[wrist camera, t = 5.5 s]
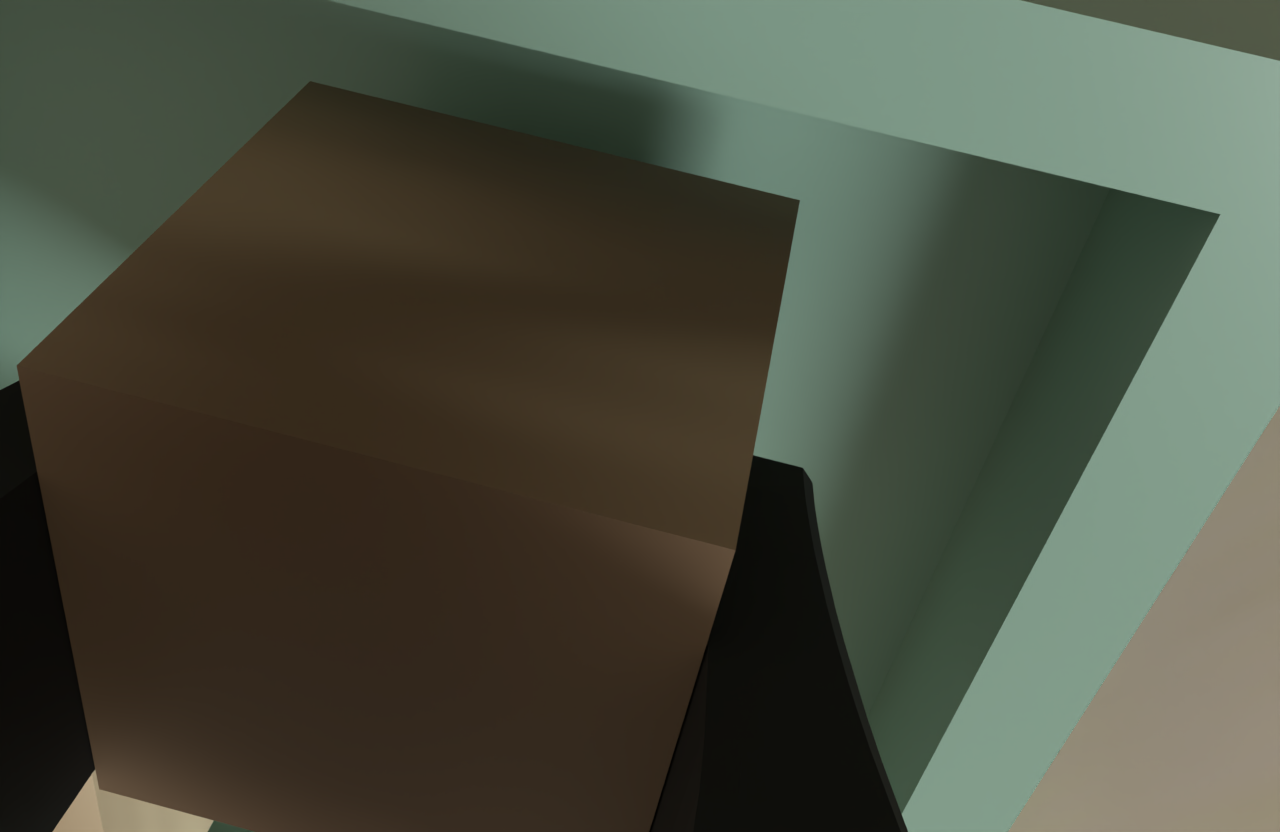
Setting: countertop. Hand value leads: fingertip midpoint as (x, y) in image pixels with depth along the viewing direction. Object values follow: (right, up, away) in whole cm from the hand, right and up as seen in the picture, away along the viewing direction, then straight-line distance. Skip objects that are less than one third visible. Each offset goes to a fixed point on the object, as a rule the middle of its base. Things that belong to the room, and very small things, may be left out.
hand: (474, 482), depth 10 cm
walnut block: (0, +1, +1) cm, 2 cm away
